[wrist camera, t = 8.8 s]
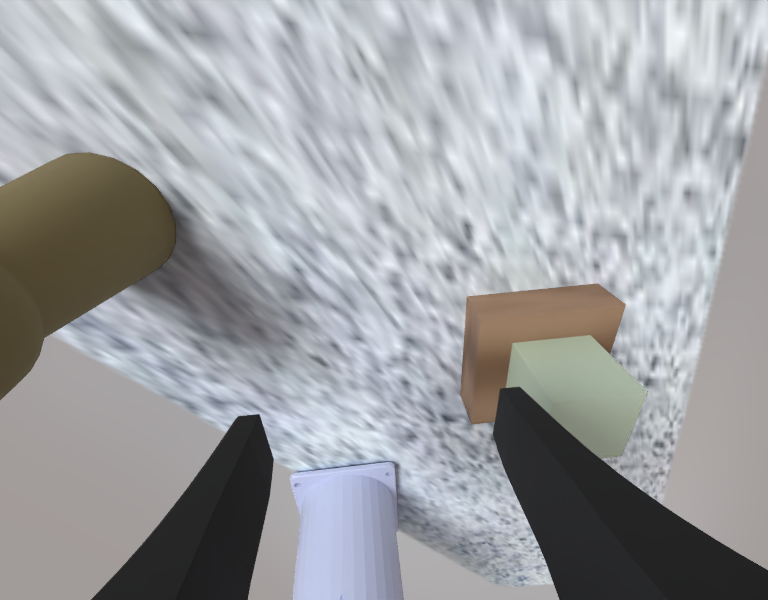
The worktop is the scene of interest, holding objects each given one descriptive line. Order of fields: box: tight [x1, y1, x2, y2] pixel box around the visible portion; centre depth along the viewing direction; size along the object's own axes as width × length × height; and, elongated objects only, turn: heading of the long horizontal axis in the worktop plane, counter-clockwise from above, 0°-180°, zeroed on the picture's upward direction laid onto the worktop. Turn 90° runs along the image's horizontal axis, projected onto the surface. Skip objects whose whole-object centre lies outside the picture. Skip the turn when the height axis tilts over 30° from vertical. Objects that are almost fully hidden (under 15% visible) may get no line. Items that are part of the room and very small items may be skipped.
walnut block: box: [460, 284, 626, 424], centre depth 23 cm, size 8×8×3 cm
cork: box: [0, 152, 176, 400], centre depth 13 cm, size 6×6×11 cm
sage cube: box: [506, 335, 648, 459], centre depth 20 cm, size 4×4×4 cm
